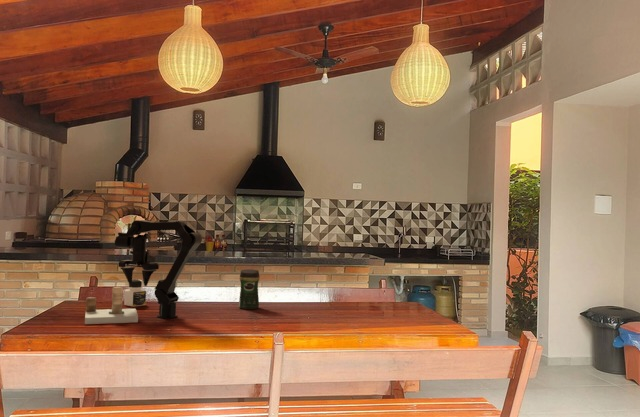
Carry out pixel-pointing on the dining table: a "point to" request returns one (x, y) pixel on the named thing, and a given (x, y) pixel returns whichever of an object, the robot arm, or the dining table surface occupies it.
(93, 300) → the short walnut peg
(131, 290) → the medicine bottle
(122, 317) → the hole board
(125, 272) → the robot arm
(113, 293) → the tall beech peg
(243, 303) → the coffee jar
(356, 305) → the dining table surface
